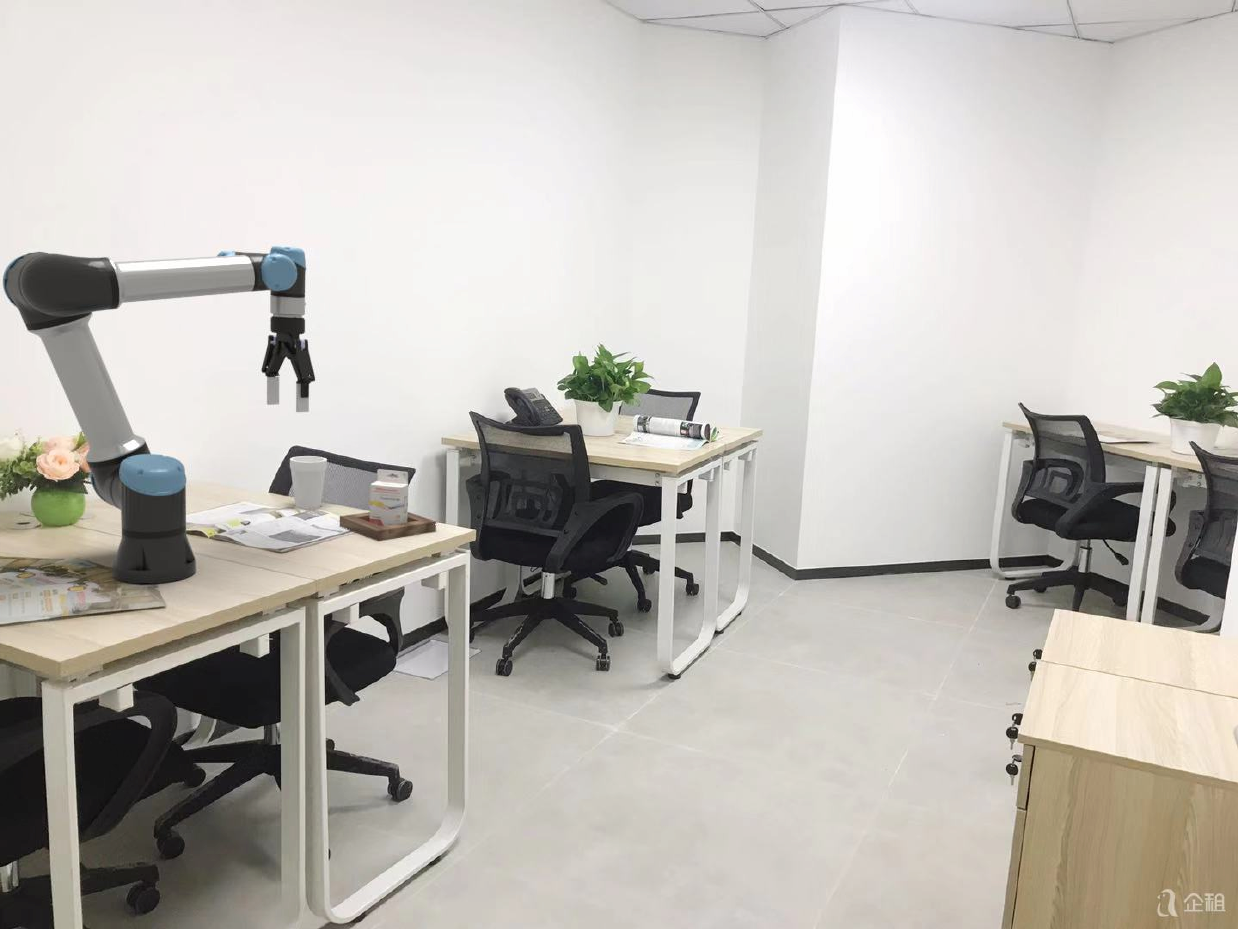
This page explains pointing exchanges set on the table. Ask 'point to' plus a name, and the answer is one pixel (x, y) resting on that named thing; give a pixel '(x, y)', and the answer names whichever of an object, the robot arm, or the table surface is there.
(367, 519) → the square wooden frame
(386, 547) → the table surface
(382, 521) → the ink cartridge box
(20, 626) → the table surface
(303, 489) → the foam cup
